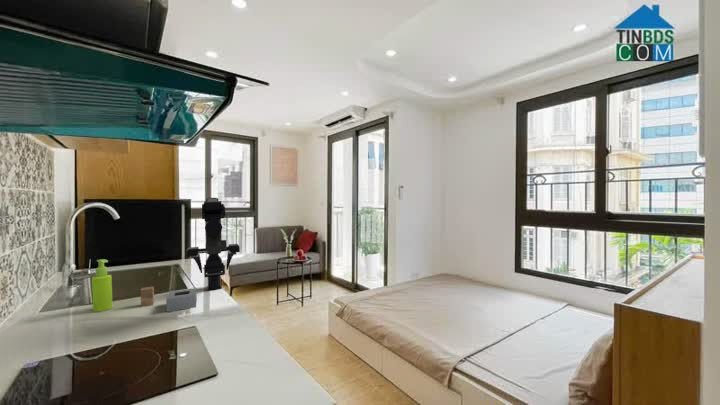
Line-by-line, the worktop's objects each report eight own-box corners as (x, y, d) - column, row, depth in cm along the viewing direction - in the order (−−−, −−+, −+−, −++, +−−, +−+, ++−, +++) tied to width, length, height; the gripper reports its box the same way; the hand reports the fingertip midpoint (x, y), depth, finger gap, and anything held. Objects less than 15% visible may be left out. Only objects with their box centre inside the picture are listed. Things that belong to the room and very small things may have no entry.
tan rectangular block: (142, 304, 122) (142, 287, 122) (154, 302, 124) (153, 286, 123) (141, 306, 119) (140, 289, 119) (152, 305, 121) (152, 288, 121)
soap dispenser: (97, 313, 113) (95, 262, 112) (90, 310, 116) (88, 260, 116) (116, 308, 118) (114, 259, 117) (108, 305, 121) (107, 257, 121)
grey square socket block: (169, 303, 122) (169, 291, 122) (196, 299, 127) (196, 288, 127) (166, 311, 113) (166, 299, 113) (196, 307, 118) (195, 294, 118)
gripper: (184, 236, 105) (186, 279, 106) (240, 233, 114) (241, 272, 114) (187, 233, 115) (188, 272, 115) (238, 230, 124) (238, 266, 124)
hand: (214, 271), depth 117 cm, fingers open, 9 cm apart
